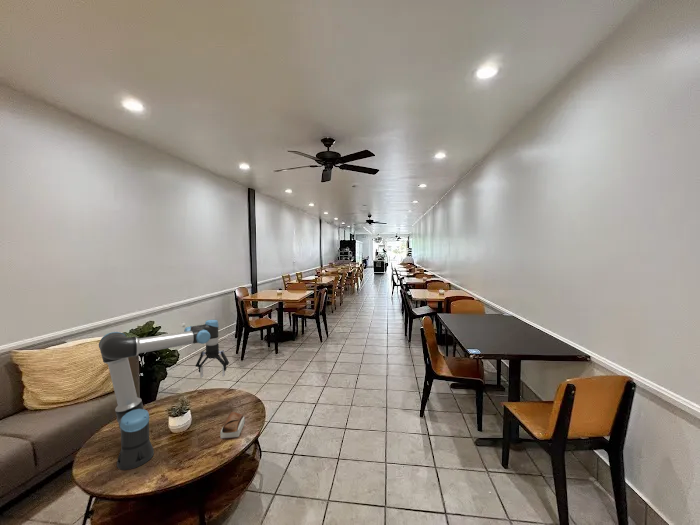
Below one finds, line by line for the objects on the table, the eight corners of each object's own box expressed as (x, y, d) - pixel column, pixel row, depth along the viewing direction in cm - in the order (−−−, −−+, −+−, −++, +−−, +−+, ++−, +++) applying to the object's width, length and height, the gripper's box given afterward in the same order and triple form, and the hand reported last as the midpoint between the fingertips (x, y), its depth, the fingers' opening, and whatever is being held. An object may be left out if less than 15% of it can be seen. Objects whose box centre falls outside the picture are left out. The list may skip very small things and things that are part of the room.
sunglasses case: (237, 430, 162) (231, 421, 162) (226, 438, 161) (220, 429, 161) (244, 414, 180) (238, 405, 180) (234, 420, 179) (228, 412, 179)
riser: (238, 436, 165) (238, 429, 165) (220, 438, 163) (220, 431, 163) (244, 423, 179) (244, 416, 179) (227, 424, 177) (227, 417, 177)
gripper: (233, 341, 190) (234, 372, 191) (194, 343, 187) (194, 375, 188) (230, 344, 183) (231, 377, 183) (189, 346, 180) (190, 379, 180)
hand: (212, 376), depth 185 cm, fingers open, 13 cm apart
